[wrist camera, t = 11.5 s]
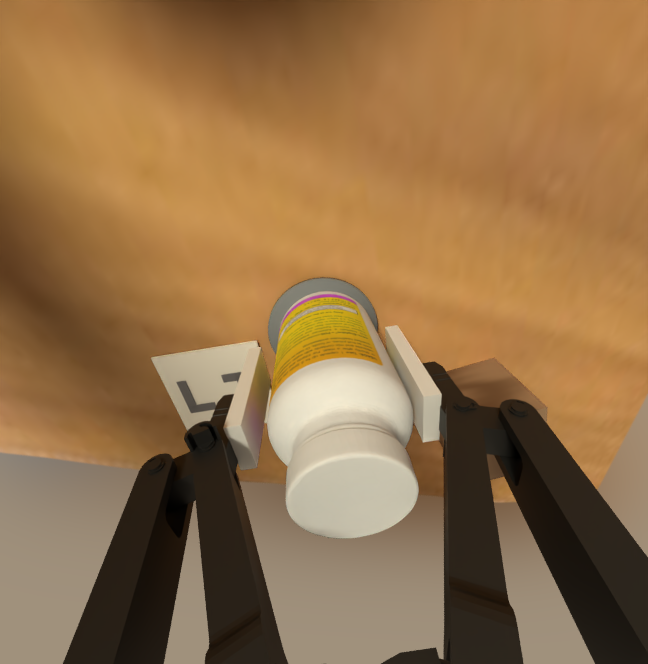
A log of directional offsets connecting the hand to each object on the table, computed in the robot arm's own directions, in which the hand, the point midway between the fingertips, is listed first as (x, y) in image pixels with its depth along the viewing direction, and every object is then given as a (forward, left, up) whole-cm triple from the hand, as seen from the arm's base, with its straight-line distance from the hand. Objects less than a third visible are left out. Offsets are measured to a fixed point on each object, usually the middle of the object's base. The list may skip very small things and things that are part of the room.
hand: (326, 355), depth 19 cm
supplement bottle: (0, 0, -3) cm, 4 cm away
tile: (-9, -4, -4) cm, 11 cm away
